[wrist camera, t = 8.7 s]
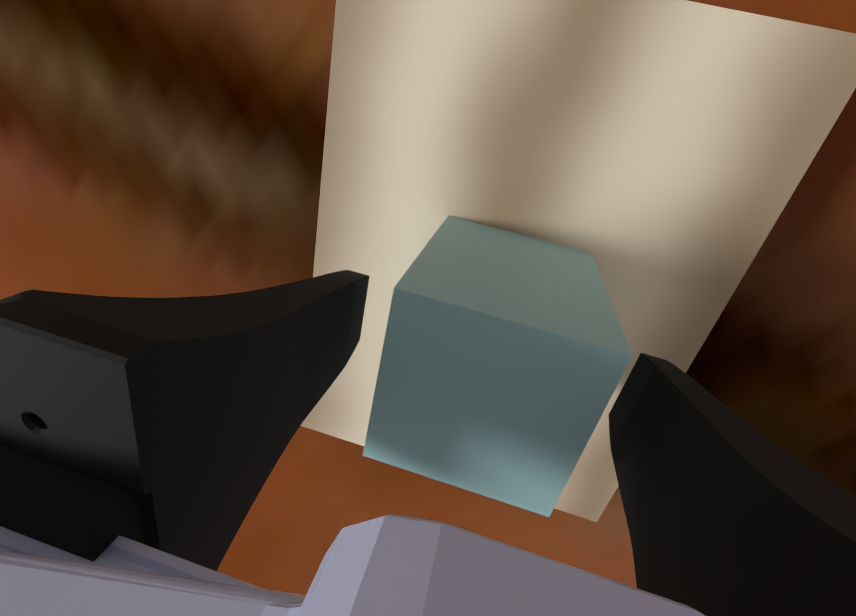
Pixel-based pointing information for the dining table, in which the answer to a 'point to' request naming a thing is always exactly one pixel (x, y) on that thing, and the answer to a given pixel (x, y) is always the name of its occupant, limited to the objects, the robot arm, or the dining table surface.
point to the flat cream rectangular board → (569, 159)
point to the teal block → (495, 364)
